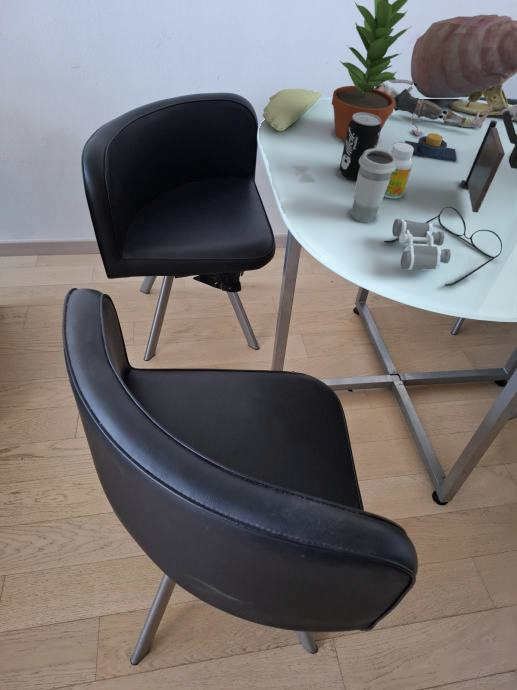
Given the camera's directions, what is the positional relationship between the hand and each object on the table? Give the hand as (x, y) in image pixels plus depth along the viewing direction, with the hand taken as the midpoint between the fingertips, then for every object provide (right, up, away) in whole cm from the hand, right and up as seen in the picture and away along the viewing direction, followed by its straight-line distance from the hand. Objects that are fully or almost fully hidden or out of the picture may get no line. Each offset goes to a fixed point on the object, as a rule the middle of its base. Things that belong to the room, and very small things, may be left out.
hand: (514, 166), depth 90 cm
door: (-4, -3, +9) cm, 11 cm away
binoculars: (-20, -17, -5) cm, 26 cm away
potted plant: (-23, +18, +29) cm, 41 cm away
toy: (+11, +24, +35) cm, 44 cm away
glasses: (-15, -14, -6) cm, 21 cm away
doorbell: (-7, +13, +26) cm, 30 cm away
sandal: (+19, +32, +47) cm, 59 cm away
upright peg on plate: (-2, +1, +16) cm, 16 cm away
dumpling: (-36, +25, +32) cm, 54 cm away
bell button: (-6, +14, +25) cm, 29 cm away
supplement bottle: (-20, -1, +11) cm, 23 cm away
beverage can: (-27, +4, +15) cm, 31 cm away
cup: (-27, -8, +4) cm, 29 cm away
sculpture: (+7, +40, +28) cm, 49 cm away
